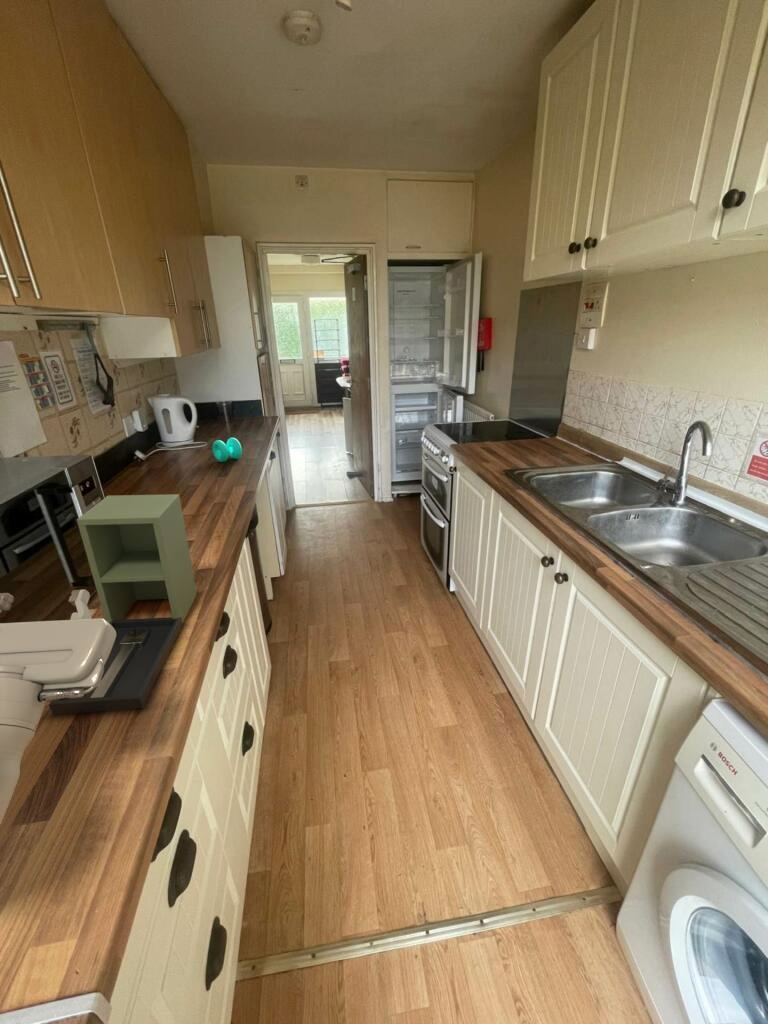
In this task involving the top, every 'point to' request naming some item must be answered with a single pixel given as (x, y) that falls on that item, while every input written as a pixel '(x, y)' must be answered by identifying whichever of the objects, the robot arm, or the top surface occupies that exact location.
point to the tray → (129, 668)
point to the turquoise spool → (227, 449)
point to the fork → (121, 661)
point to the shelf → (138, 553)
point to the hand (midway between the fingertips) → (43, 593)
